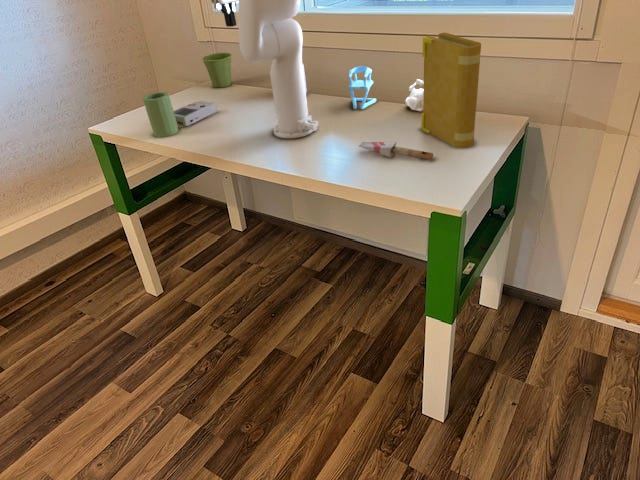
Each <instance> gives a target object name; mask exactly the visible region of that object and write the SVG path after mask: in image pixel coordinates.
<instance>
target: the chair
mask: <svg viewBox="0 0 640 480" xmlns="http://www.w3.org/2000/svg"><path fill="white" fill-rule="evenodd" d="M372 72H373V70H372V69H371V68H370V67H368V66H365V65H360V66H356V67H353V68H351V69H350V70H349V73H348V79H349V85H348V86H347V89H348V90H349V94H350V99H351V102H352V108H353V110H356V109H357V108H358V107H357V105H358V104H357V102H361V104H360V110H364V109H367V108H368V107H369V106H371V105H373V104H374V103H376V102H377V98H375V97H373V98H372V97H371V98H369V97H368V94H369V92H370V88H371V86H372V85H373V84H374V80H372V78H371V77H372ZM359 73H364V75H363V77H364V79H363V80H361V79H358V76H357V74H359ZM353 75H354V76H353ZM352 76H353V77H354V80H353V79H352ZM354 90H364V91H365V92H364V95H363V97H355V93H354Z"/></svg>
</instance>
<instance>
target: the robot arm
mask: <svg viewBox="0 0 640 480" xmlns="http://www.w3.org/2000/svg"><path fill="white" fill-rule="evenodd" d="M210 1H211V3H212V4H213V9H215V10H220V12H221V13H222V14H223V17H224V22H225V26H226V27H227V28H228V27H236V26H237V19H236V16H235V15H236V14H235V13H236V7H238V14H237V15H238V46H239V50H240V53H241V56H242V58H243V59H244V60H245V61H246V62H247V63H250V64H259V63H264V62H266V61H272V63H271V66H270V71H269V78H270V86H271V91H272V98H273V104H274V109H275V117H276V121H277V122H276V123H277V124H276V125H275V126H274V127H273V134H274V136H276V137H278V138H281V139H299V138H302V137H306V136H308V135H310V134H312V133H313V132H314V131H315V132H316V131H317V130H318V126H319V121H318V120H312V115H311V114H309V109H308V108H309V107H308V101H307V93H306V91H305V83H304V74H303V65H302V63H303V43H304V39H303V38H304V37H303V29H302V27H301V25H300V23H299V22H298V21H297V20H296V19H294V17H296V16H297V15H298V13H299V11H300V8H301V1H302V0H210ZM237 5H238V6H237Z"/></svg>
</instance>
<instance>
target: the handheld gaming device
mask: <svg viewBox="0 0 640 480" xmlns="http://www.w3.org/2000/svg"><path fill="white" fill-rule="evenodd" d="M173 111H174V115H175V118H176V122H177V123H182V125H183V126H185V127H189V126H191V125H192V124H195V123H197V122H199V121H201V120H203V119H205V118H207V117H209V116H211V115H213V114H215V113H217V112H218V107H217V103H216V102H214V101H206V100H205V101H204V100H200V101H194V102H192V103H189V104H187V105H184V106H182V107H180V108H178V109H177V108H176V110H173Z"/></svg>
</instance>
